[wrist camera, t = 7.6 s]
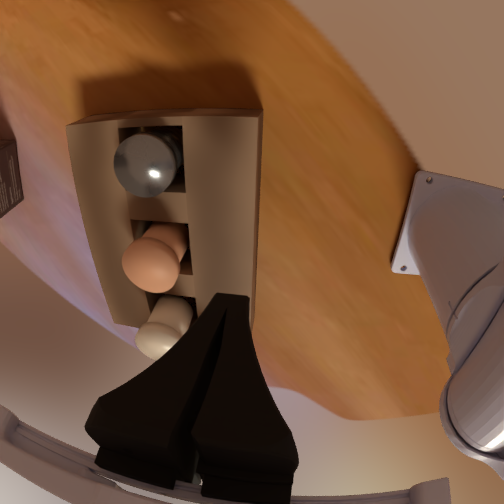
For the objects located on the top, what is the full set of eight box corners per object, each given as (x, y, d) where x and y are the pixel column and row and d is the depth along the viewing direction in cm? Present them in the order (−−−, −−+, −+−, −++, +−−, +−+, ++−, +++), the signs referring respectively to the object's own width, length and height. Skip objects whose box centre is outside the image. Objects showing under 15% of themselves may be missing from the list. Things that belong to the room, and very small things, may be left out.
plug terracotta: (192, 213, 20) (172, 247, 17) (196, 259, 22) (179, 296, 19) (143, 210, 21) (116, 241, 17) (150, 254, 23) (128, 288, 19)
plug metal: (193, 119, 18) (170, 134, 15) (195, 173, 20) (175, 198, 17) (141, 121, 18) (110, 136, 15) (145, 172, 20) (118, 196, 17)
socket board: (263, 109, 17) (257, 117, 15) (254, 318, 27) (249, 344, 24) (90, 115, 18) (65, 125, 16) (127, 300, 28) (114, 323, 25)
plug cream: (194, 294, 23) (179, 335, 20) (198, 327, 25) (186, 367, 22) (149, 288, 23) (129, 326, 20) (157, 321, 25) (141, 358, 22)
